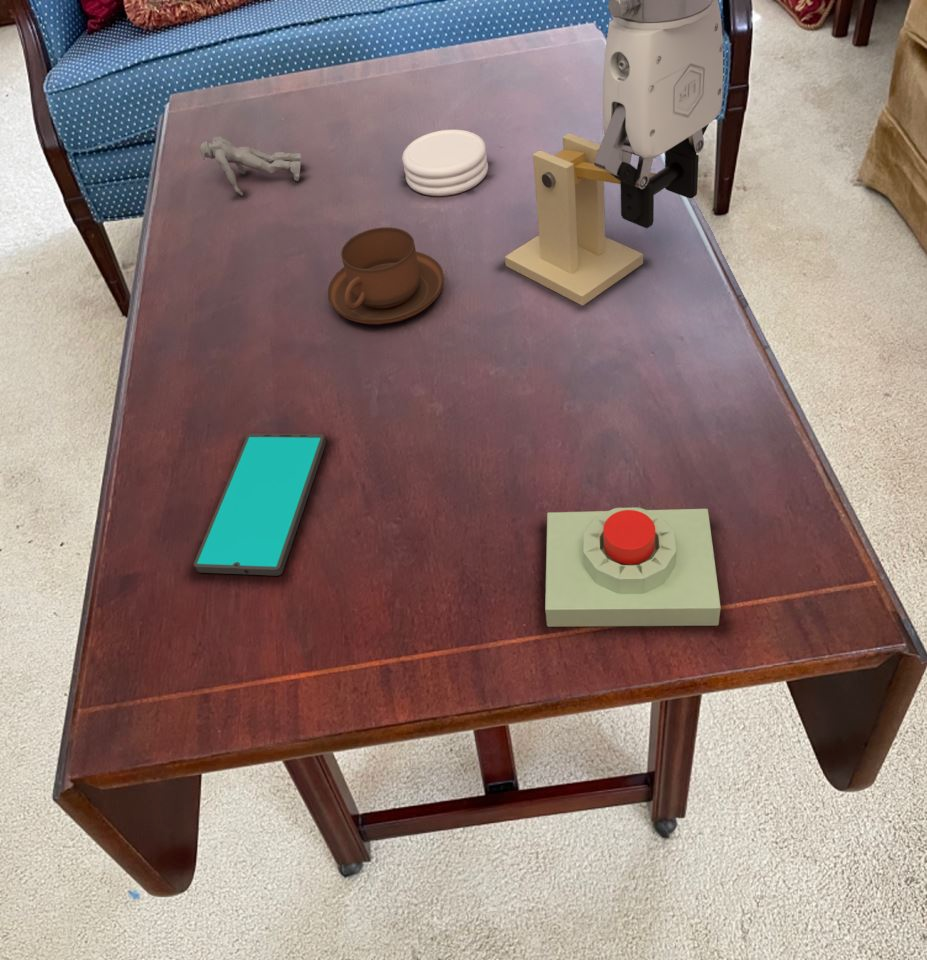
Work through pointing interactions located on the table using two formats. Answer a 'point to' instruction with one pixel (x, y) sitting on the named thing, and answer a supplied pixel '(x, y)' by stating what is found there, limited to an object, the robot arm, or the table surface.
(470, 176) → the coaster
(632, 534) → the button
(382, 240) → the cup and saucer
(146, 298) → the table surface
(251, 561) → the smartphone
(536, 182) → the bracket
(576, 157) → the lever
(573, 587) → the button block
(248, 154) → the soldier figurine
